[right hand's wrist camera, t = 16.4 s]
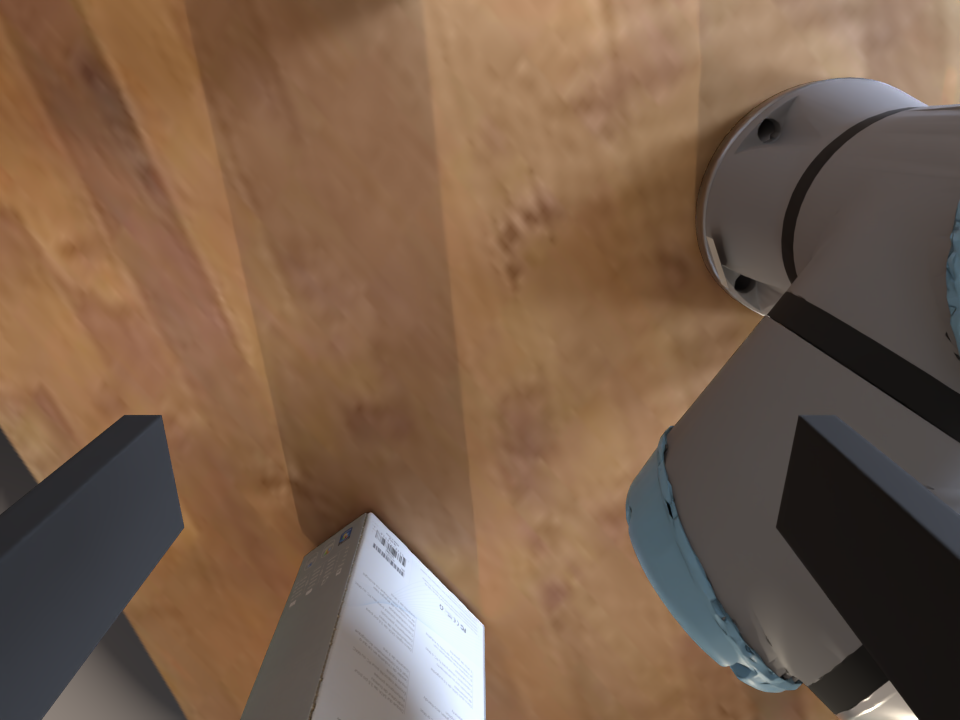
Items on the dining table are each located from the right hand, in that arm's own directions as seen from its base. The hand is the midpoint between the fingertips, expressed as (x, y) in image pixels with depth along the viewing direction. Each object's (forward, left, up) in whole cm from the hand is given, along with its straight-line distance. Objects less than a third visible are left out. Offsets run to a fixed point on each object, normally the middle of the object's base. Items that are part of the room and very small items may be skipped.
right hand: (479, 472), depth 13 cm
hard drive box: (+7, +30, -31) cm, 43 cm away
